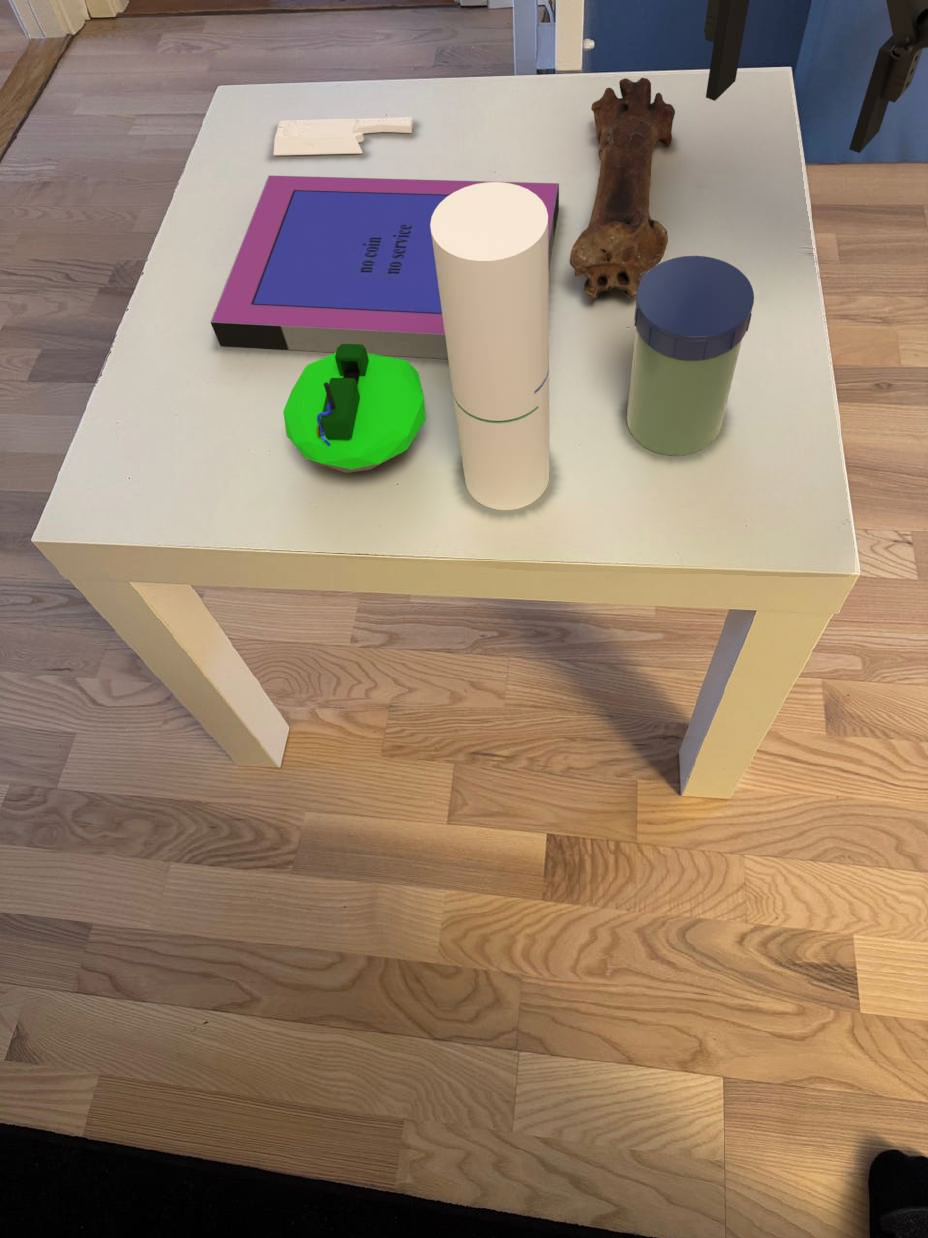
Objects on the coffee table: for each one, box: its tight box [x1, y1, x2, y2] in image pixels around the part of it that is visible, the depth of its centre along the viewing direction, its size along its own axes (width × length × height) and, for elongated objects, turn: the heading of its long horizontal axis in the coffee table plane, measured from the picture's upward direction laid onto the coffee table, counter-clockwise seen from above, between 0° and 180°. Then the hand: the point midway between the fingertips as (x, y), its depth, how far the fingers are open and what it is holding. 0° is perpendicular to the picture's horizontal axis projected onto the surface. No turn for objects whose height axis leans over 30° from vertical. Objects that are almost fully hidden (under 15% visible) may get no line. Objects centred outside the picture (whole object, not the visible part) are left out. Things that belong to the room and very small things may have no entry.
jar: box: [626, 328, 743, 457], centre depth 73 cm, size 8×8×13 cm
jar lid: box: [633, 255, 755, 360], centre depth 68 cm, size 8×8×2 cm
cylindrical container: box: [430, 181, 550, 511], centre depth 66 cm, size 7×7×25 cm
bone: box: [569, 77, 676, 300], centre depth 89 cm, size 9×8×30 cm
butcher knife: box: [273, 116, 414, 156], centre depth 101 cm, size 5×15×1 cm, turn 84°
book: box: [210, 175, 560, 360], centre depth 89 cm, size 21×3×30 cm
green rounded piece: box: [282, 344, 426, 474], centre depth 76 cm, size 12×12×11 cm
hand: (790, 113), depth 63 cm, fingers open, 10 cm apart
